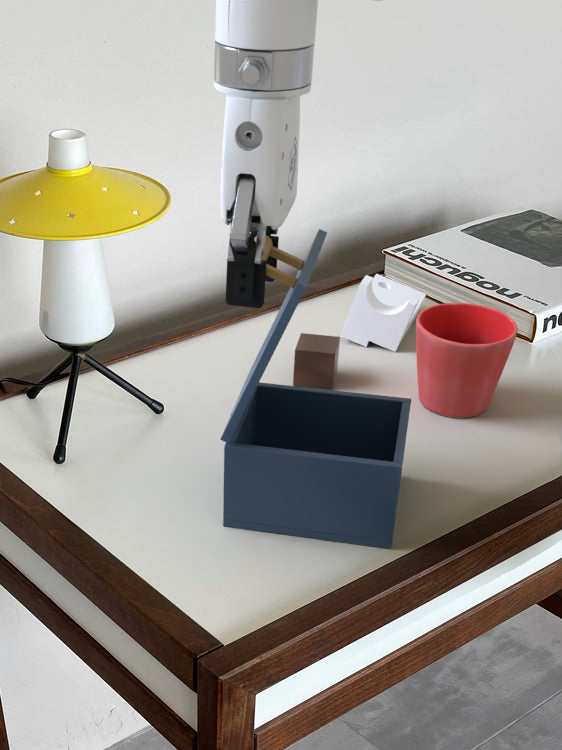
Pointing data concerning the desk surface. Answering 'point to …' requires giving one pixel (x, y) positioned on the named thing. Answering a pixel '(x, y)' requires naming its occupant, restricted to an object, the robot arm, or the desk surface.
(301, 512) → the chest
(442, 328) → the flower pot
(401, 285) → the bracket
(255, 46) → the robot arm
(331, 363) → the block
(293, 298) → the lid
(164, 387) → the desk surface
